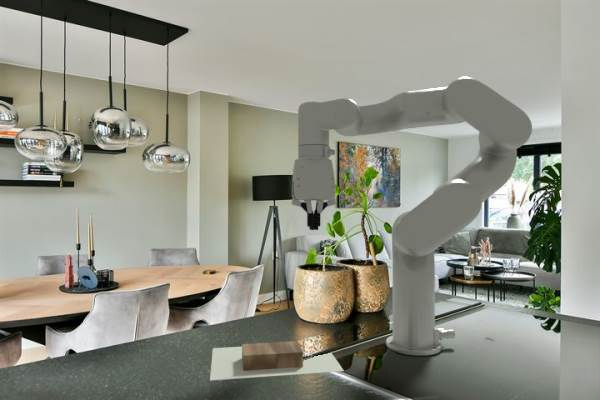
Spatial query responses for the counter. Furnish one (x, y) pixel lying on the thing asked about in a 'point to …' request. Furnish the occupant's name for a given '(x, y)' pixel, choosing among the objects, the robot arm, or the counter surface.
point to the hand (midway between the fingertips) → (313, 229)
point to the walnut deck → (271, 355)
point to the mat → (231, 367)
